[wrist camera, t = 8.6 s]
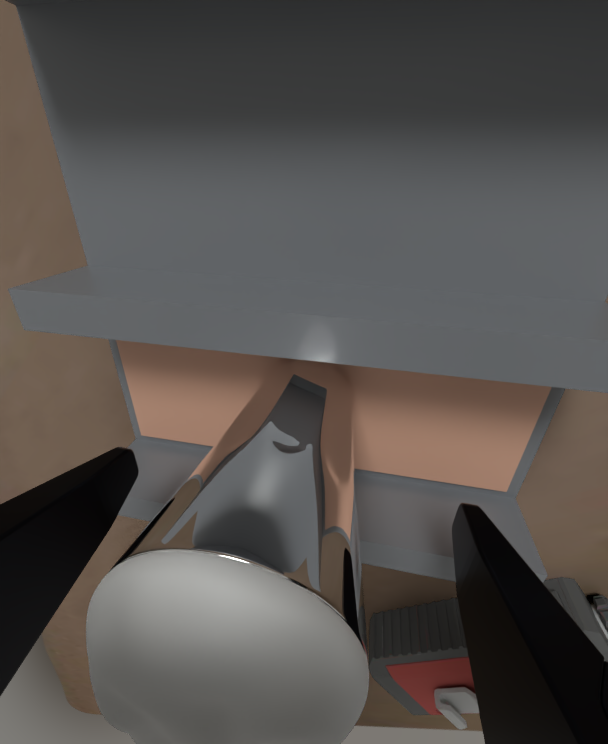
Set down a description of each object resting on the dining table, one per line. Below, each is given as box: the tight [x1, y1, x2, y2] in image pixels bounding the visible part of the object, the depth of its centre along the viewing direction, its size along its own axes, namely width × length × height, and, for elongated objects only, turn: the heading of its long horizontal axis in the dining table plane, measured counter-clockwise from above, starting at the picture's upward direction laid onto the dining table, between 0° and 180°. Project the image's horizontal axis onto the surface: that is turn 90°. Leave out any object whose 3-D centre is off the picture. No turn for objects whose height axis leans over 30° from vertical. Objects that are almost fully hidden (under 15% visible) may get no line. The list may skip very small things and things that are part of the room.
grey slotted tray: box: [6, 0, 608, 582], centre depth 10 cm, size 16×17×4 cm
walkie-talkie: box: [369, 577, 608, 730], centre depth 17 cm, size 9×4×20 cm
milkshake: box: [86, 359, 369, 744], centre depth 8 cm, size 4×5×10 cm
